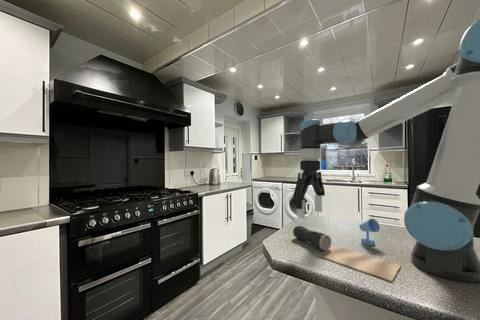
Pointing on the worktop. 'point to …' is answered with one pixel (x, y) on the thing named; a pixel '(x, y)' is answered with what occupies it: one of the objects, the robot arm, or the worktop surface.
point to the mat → (362, 263)
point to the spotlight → (369, 230)
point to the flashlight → (313, 237)
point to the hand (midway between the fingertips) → (310, 214)
